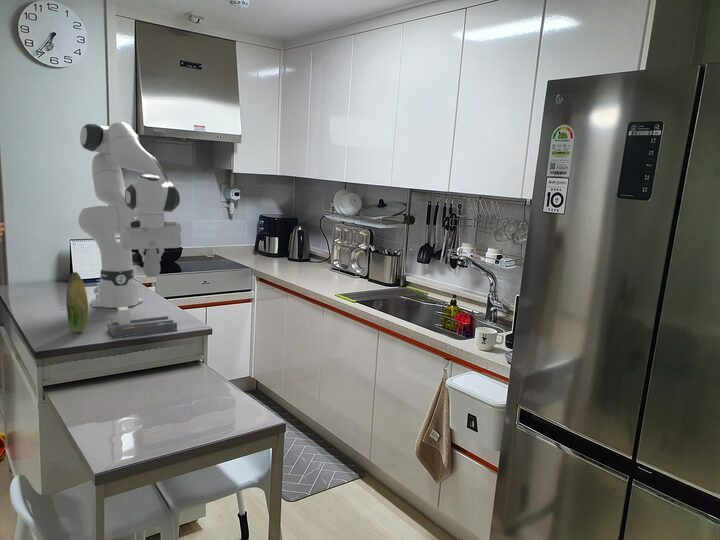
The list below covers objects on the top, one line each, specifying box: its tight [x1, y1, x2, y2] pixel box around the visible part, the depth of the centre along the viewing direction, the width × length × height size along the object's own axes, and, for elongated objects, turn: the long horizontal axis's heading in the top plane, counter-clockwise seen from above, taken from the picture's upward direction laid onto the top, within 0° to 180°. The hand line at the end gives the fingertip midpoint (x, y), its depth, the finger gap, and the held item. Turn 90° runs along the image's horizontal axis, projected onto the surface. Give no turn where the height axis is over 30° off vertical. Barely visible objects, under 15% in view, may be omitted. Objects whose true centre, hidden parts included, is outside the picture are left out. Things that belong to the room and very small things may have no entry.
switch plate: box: [107, 315, 178, 338], centre depth 180 cm, size 9×20×3 cm, turn 126°
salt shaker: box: [142, 240, 161, 278], centre depth 188 cm, size 6×6×13 cm
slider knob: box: [117, 307, 131, 325], centre depth 176 cm, size 4×3×5 cm
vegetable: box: [65, 271, 89, 334], centre depth 173 cm, size 6×6×20 cm
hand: (151, 261), depth 189 cm, fingers closed on salt shaker, 3 cm apart
